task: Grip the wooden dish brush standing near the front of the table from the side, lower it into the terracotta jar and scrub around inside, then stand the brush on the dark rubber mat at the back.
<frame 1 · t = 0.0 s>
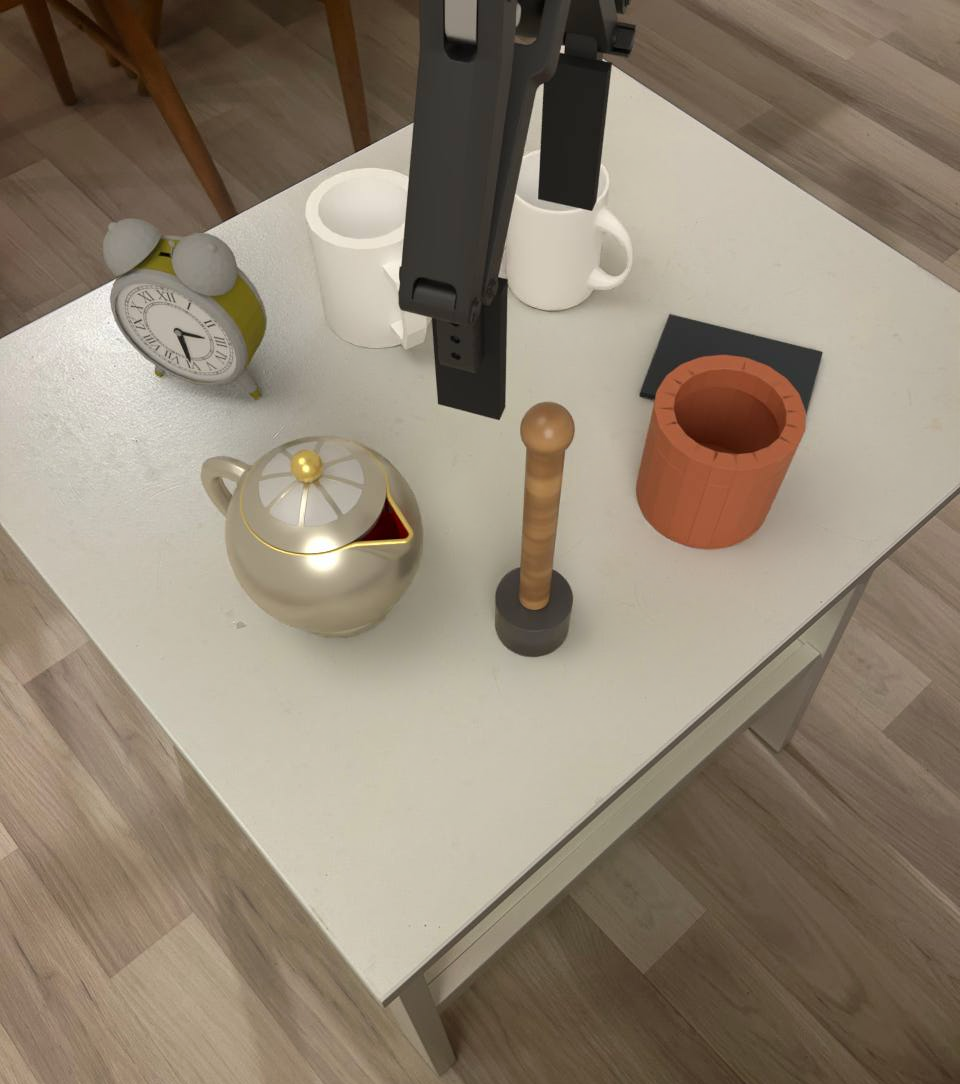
hand: (522, 296, 41), 32 cm above the table, tool pointing down, fingers open, 13 cm apart
teapot: (325, 585, 72), on the table
pill bottle: (456, 246, 90), on the table
mat: (731, 376, 82), on the table
jar: (702, 494, 76), on the table
brush: (531, 624, 70), on the table
alarm clock: (217, 373, 83), on the table
mug: (567, 290, 87), on the table
mug 2: (383, 318, 86), on the table
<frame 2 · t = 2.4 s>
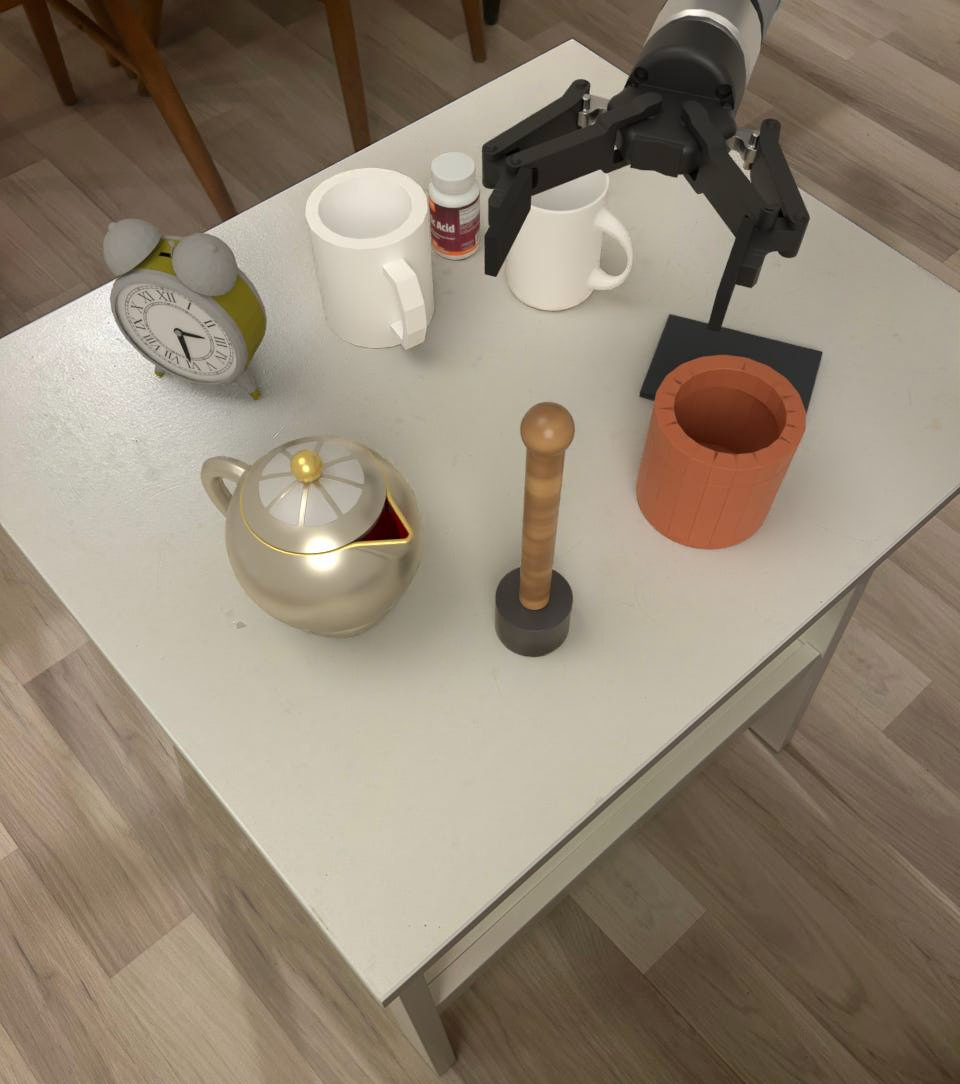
hand: (601, 284, 53), 24 cm above the table, tool horizontal, fingers open, 13 cm apart
nothing on the table moved.
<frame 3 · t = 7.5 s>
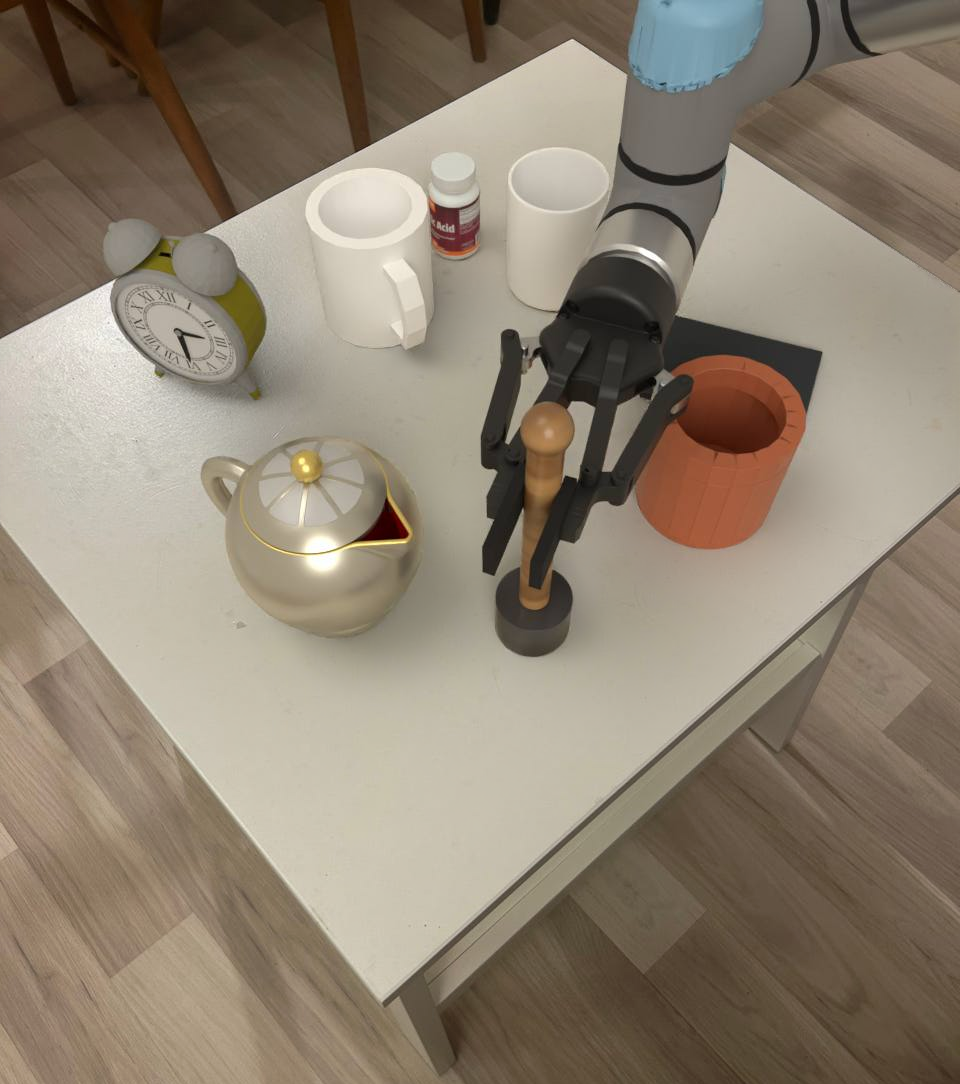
hand: (512, 568, 54), 16 cm above the table, tool horizontal, fingers closed on brush, 2 cm apart
brush: (531, 624, 70), on the table, touching gripper
everything else where it was.
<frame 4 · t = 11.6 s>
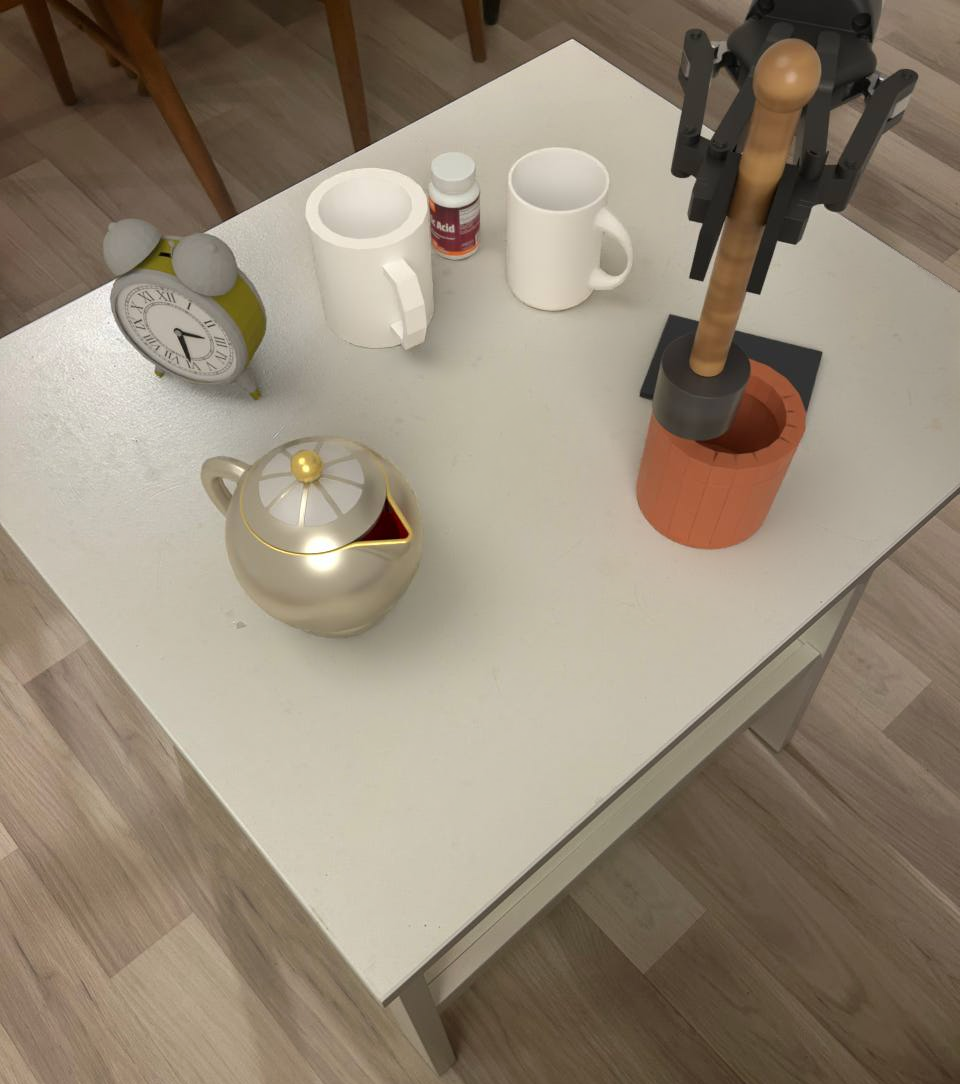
hand: (730, 263, 45), 30 cm above the table, tool horizontal, fingers closed on brush, 2 cm apart
brush: (694, 408, 62), point 14 cm above the table, touching gripper
everything else where it was.
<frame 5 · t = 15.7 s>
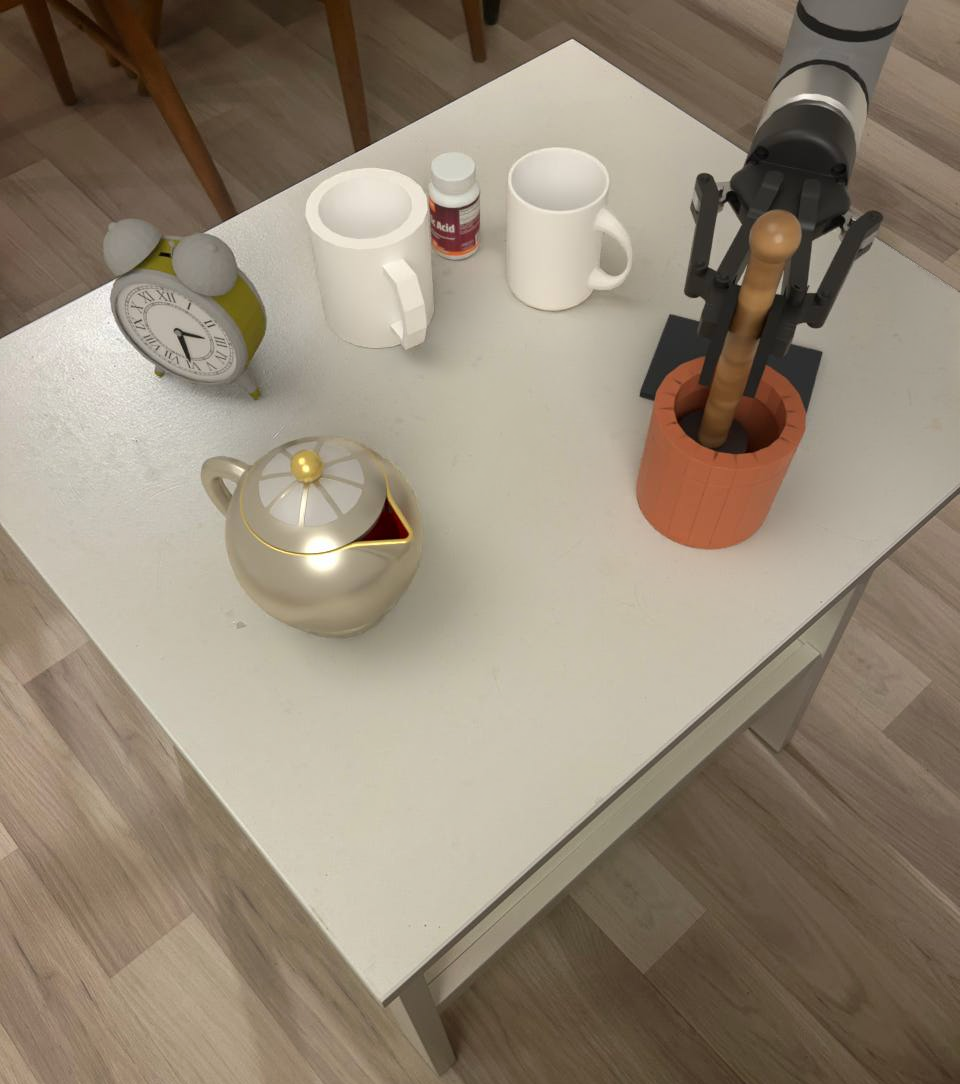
hand: (730, 375, 58), 18 cm above the table, tool horizontal, fingers closed on brush, 2 cm apart
brush: (701, 470, 75), point 2 cm above the table, touching gripper
everything else where it was.
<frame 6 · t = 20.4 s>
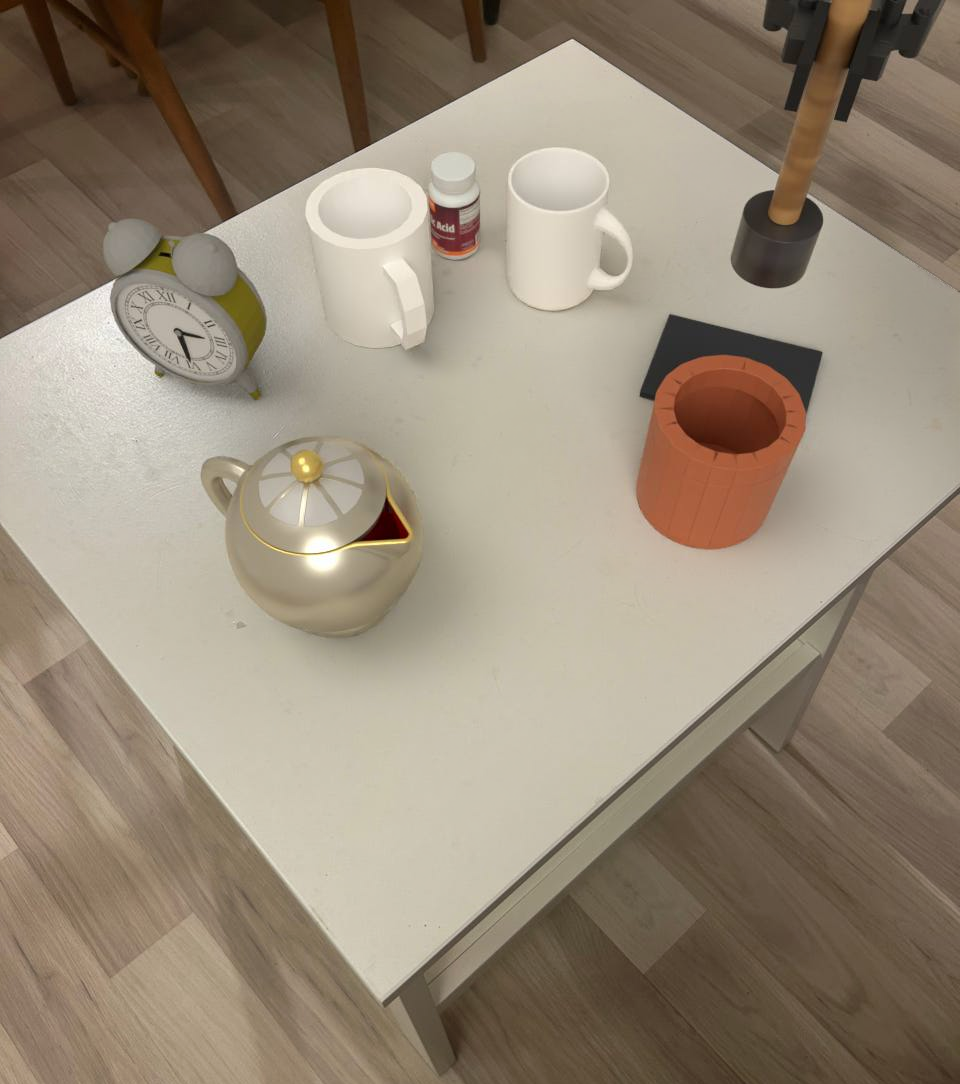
hand: (822, 92, 53), 30 cm above the table, tool horizontal, fingers closed on brush, 2 cm apart
brush: (768, 262, 69), point 14 cm above the table, touching gripper
everything else where it was.
when the fingers open (17 cm above the table, at t = 24.1 s): brush stays where it is, resting on mat.
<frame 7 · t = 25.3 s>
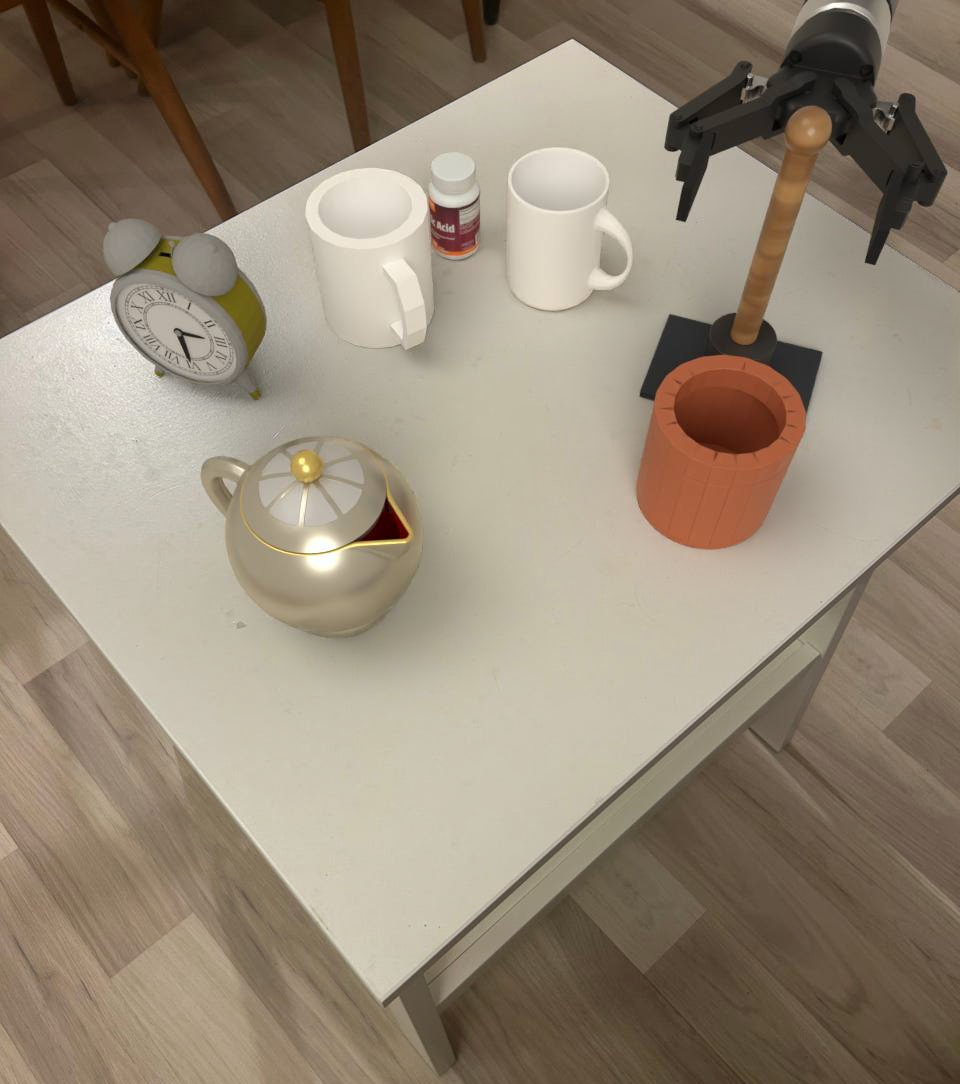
hand: (778, 226, 65), 18 cm above the table, tool horizontal, fingers open, 13 cm apart
brush: (732, 370, 81), point 1 cm above the table, touching mat
everything else where it was.
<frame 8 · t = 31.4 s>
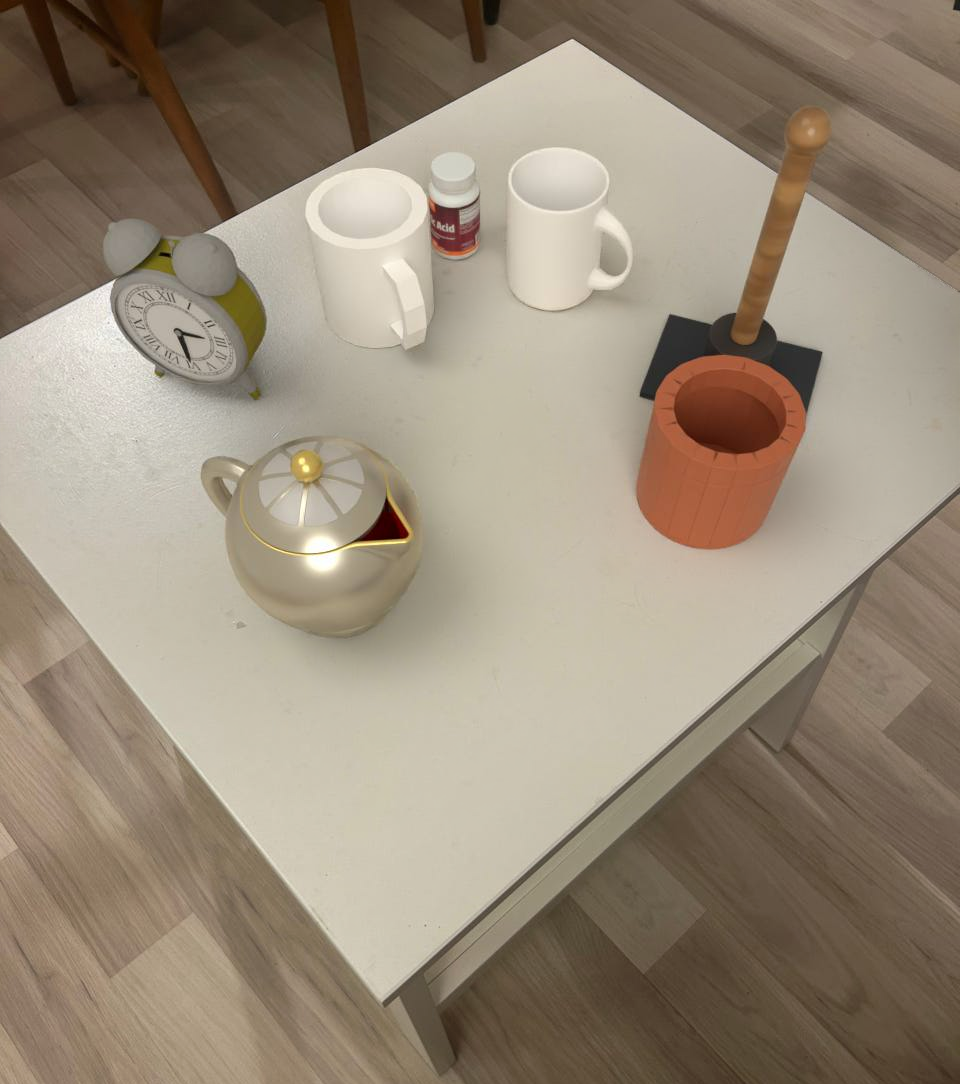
nothing on the table moved.
at the end: brush inside the target area on the mat (0.1 cm from its centre), point 0.6 cm above the mat's base; brush tilted 0°; the gripper is holding nothing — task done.
